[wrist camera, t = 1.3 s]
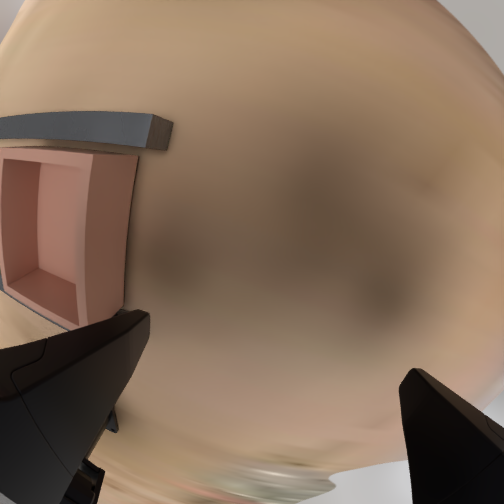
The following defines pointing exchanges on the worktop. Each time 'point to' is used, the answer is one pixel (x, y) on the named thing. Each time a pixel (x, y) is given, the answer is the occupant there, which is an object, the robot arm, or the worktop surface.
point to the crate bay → (89, 136)
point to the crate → (65, 230)
